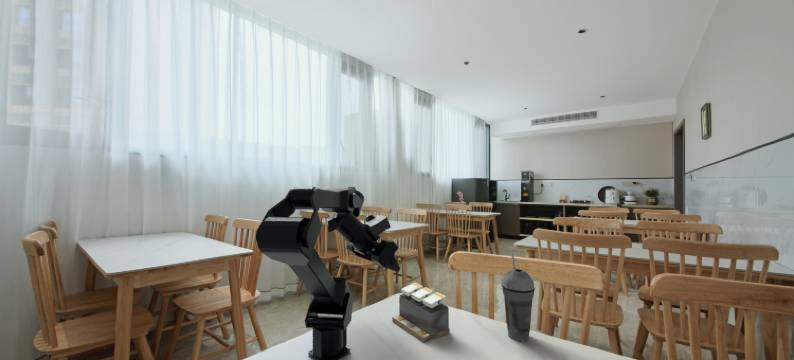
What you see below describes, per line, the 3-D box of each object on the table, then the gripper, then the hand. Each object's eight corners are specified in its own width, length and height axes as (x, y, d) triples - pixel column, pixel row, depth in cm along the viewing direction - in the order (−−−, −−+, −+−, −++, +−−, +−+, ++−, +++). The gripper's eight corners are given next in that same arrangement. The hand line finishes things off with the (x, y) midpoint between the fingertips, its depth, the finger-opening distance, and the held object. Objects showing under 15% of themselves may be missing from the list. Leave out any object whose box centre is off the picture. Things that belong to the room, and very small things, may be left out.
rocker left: (408, 296, 78) (408, 292, 78) (401, 292, 81) (400, 288, 81) (423, 289, 81) (422, 285, 81) (415, 285, 83) (414, 282, 83)
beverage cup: (539, 346, 67) (538, 255, 67) (504, 342, 68) (503, 253, 69) (531, 330, 74) (530, 248, 74) (500, 327, 76) (499, 247, 76)
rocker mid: (419, 302, 74) (419, 297, 74) (411, 297, 77) (410, 293, 77) (434, 294, 77) (433, 290, 77) (425, 290, 80) (425, 286, 80)
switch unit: (423, 342, 69) (423, 314, 69) (392, 321, 79) (392, 296, 79) (449, 332, 73) (449, 306, 73) (416, 313, 84) (416, 290, 84)
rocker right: (431, 308, 70) (431, 304, 70) (422, 303, 73) (422, 299, 73) (446, 300, 73) (446, 296, 73) (437, 295, 76) (436, 291, 76)
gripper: (391, 208, 72) (427, 248, 78) (356, 203, 88) (388, 238, 94) (362, 245, 68) (402, 285, 74) (330, 234, 83) (366, 267, 89)
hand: (389, 266), depth 83 cm, fingers open, 9 cm apart
